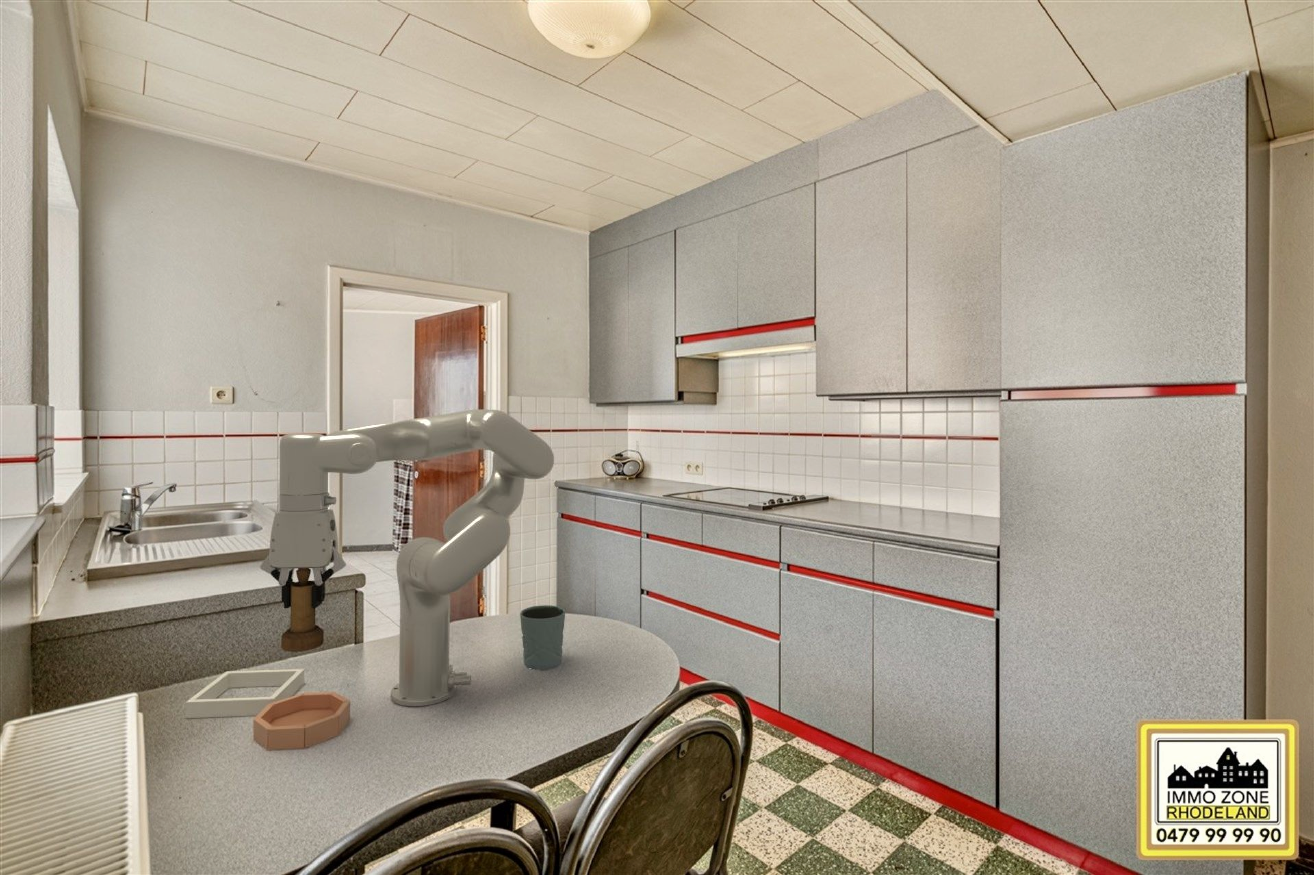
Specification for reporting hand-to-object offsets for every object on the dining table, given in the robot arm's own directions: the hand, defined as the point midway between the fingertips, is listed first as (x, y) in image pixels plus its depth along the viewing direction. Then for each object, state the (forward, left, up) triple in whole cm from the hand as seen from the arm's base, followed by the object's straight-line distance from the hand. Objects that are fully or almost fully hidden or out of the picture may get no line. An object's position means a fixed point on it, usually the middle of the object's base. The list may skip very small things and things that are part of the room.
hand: (303, 604), depth 113 cm
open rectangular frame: (+15, -13, -22) cm, 30 cm away
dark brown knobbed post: (0, 0, -7) cm, 7 cm away
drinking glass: (-41, -27, -23) cm, 54 cm away
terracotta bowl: (0, 0, -22) cm, 22 cm away
